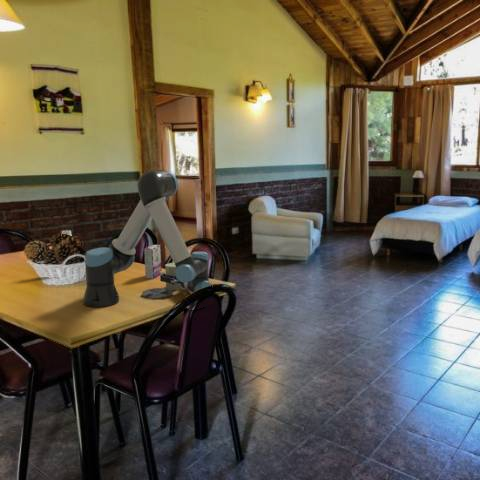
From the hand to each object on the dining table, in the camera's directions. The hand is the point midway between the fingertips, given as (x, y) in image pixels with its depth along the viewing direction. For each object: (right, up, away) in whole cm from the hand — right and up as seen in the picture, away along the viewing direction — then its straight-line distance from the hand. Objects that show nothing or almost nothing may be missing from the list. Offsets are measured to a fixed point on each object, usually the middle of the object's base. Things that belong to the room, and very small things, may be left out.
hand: (171, 272), depth 232 cm
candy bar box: (-13, -4, +20) cm, 24 cm away
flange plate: (-4, -9, -15) cm, 18 cm away
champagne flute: (-61, -3, +26) cm, 66 cm away
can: (+2, -7, -2) cm, 8 cm away
